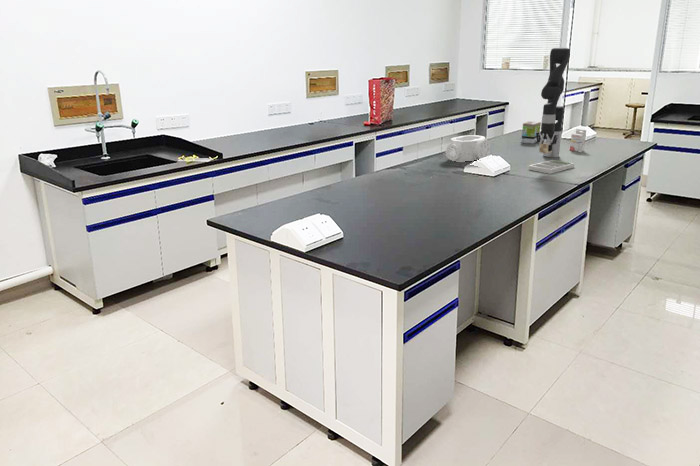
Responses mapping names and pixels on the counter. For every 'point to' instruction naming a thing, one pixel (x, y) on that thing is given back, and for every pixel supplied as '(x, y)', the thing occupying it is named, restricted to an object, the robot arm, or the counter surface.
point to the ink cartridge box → (578, 140)
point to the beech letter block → (544, 148)
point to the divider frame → (551, 166)
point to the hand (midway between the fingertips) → (545, 150)
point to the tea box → (530, 132)
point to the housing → (468, 148)
